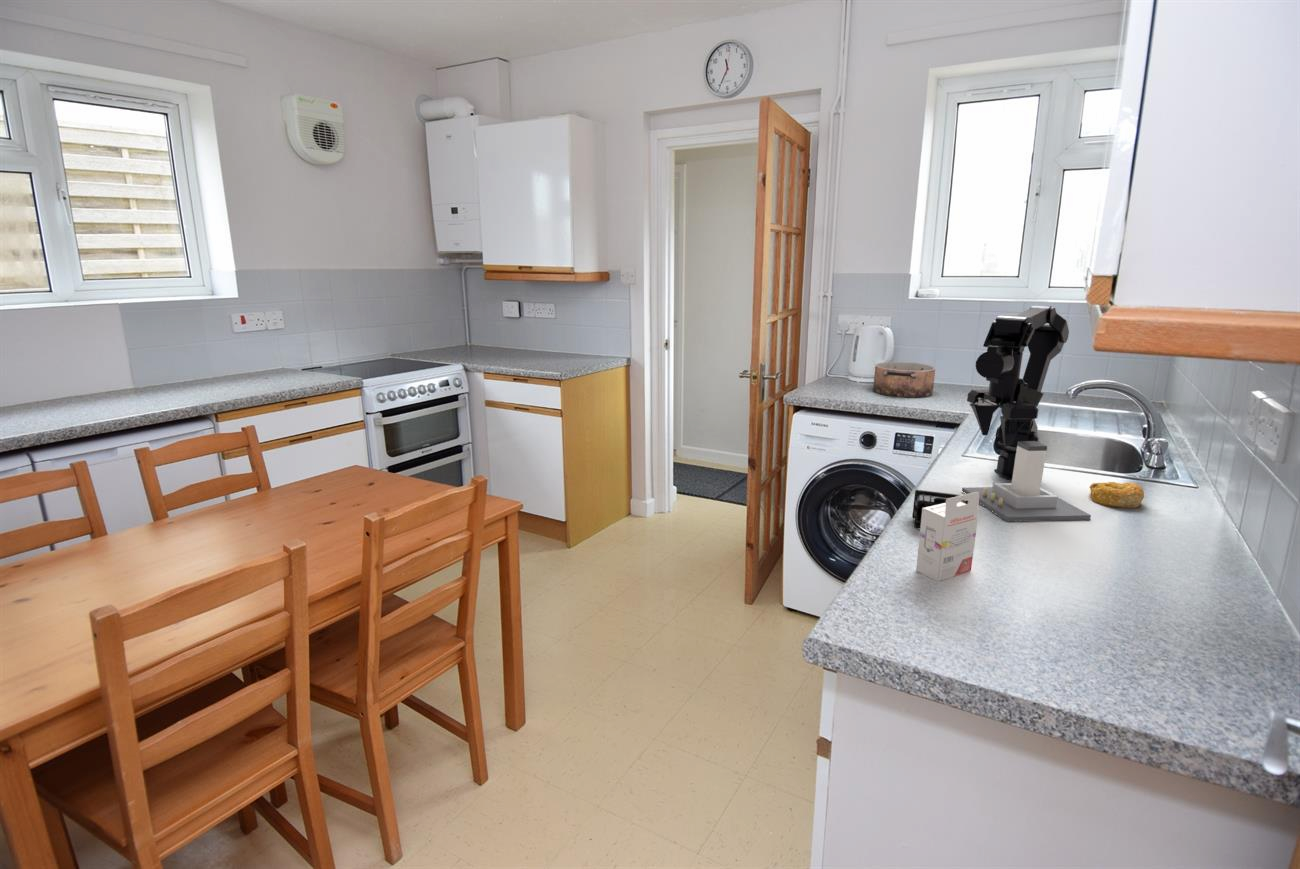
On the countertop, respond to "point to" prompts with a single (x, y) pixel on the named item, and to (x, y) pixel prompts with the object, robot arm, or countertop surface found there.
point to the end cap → (928, 502)
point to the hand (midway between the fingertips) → (995, 440)
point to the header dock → (1026, 504)
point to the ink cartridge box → (948, 537)
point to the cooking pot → (904, 379)
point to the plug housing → (1028, 468)
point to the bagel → (1117, 494)
